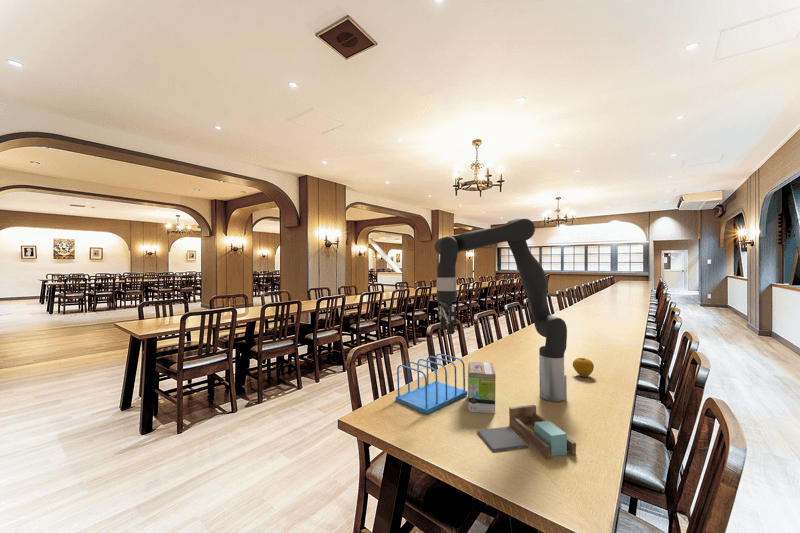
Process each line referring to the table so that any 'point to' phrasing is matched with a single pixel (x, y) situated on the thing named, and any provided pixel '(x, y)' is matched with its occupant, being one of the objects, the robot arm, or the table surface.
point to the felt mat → (501, 439)
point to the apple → (583, 366)
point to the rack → (527, 416)
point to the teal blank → (552, 437)
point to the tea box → (481, 387)
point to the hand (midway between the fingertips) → (446, 331)
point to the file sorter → (431, 389)
